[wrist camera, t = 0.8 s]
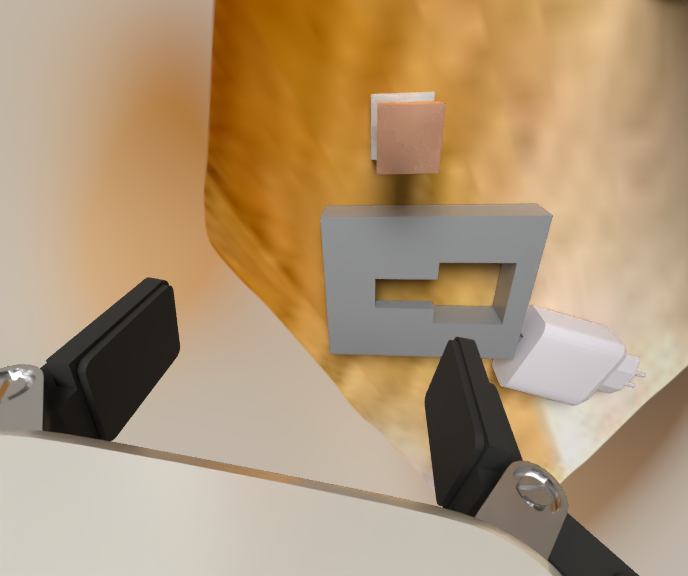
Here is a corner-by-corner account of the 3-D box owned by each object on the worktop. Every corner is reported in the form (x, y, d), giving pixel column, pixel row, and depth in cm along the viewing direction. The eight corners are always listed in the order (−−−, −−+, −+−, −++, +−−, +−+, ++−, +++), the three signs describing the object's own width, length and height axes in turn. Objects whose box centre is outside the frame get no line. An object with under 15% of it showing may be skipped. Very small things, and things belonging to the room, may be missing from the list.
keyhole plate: (536, 203, 32) (552, 215, 29) (503, 338, 40) (513, 359, 37) (325, 205, 34) (320, 217, 31) (333, 334, 42) (330, 353, 39)
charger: (601, 391, 43) (489, 361, 42) (653, 336, 39) (529, 301, 38) (624, 423, 39) (501, 390, 38) (685, 365, 35) (548, 326, 34)
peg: (431, 91, 29) (455, 93, 20) (426, 155, 31) (445, 181, 22) (371, 94, 29) (368, 96, 20) (371, 156, 32) (368, 182, 23)
